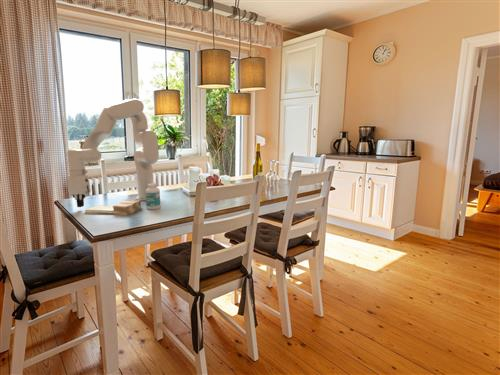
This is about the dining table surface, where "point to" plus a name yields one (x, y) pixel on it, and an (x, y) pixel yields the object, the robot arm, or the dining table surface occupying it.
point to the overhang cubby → (121, 208)
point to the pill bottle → (152, 197)
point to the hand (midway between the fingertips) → (80, 206)
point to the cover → (101, 208)
